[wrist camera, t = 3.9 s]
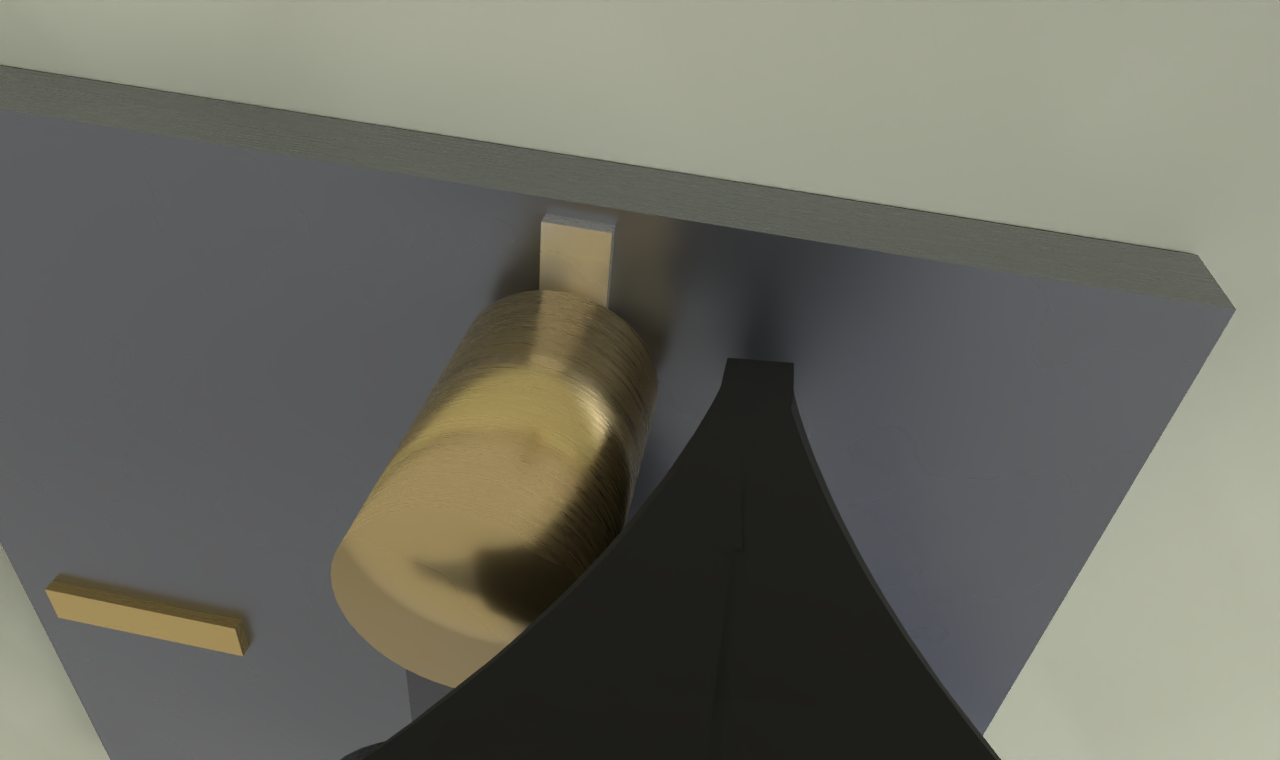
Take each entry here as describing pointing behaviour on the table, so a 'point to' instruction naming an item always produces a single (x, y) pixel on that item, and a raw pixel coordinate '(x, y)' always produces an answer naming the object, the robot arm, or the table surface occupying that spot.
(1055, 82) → the table surface
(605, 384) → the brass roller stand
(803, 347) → the lever base
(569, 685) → the robot arm
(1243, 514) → the table surface
